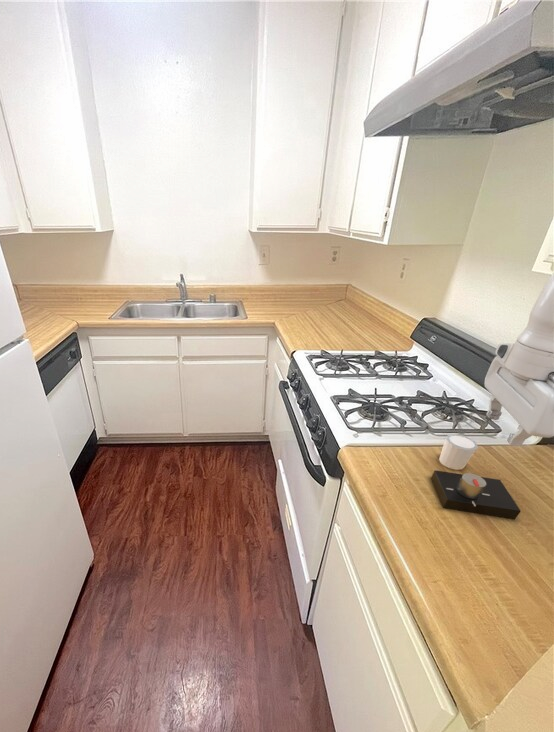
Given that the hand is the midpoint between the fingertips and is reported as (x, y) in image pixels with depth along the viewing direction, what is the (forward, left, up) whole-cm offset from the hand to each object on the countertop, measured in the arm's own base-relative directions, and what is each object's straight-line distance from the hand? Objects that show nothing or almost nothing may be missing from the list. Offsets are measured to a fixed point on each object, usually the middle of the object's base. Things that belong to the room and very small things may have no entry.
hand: (501, 430), depth 66 cm
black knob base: (-2, -1, -19) cm, 19 cm away
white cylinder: (-2, -14, -19) cm, 24 cm away
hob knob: (0, 0, -16) cm, 16 cm away
